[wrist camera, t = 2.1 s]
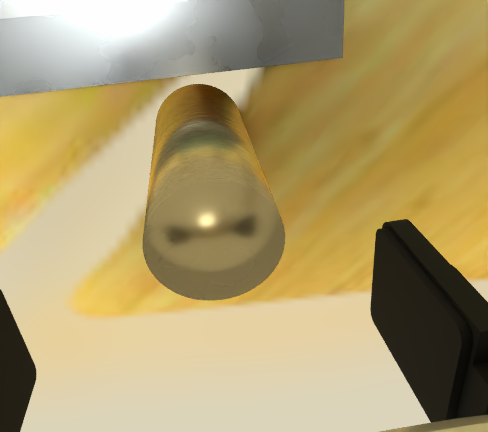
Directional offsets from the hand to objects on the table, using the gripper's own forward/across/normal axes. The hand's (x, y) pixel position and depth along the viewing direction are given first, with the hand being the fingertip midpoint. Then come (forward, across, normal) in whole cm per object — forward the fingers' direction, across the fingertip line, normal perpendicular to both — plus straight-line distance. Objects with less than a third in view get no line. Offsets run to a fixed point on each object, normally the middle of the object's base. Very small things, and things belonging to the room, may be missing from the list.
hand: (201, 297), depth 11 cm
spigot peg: (+12, -1, 0) cm, 12 cm away
